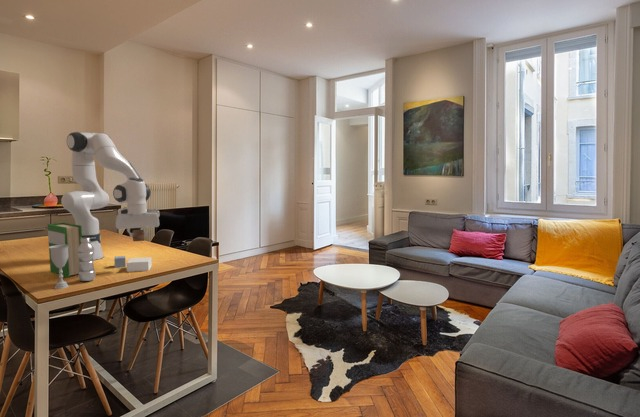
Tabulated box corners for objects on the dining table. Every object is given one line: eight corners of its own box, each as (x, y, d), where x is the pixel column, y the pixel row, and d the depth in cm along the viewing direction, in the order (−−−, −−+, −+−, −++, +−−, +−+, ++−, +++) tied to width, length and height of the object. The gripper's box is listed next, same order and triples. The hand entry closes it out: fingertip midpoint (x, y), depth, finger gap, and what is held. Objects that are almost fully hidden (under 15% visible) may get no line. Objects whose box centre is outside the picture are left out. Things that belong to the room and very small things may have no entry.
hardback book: (84, 274, 180) (81, 225, 177) (67, 277, 174) (64, 227, 171) (67, 268, 189) (64, 222, 187) (50, 272, 183) (47, 224, 181)
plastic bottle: (83, 278, 172) (81, 236, 170) (98, 278, 173) (96, 236, 171) (75, 283, 166) (73, 239, 164) (91, 282, 166) (89, 239, 164)
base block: (126, 272, 185) (126, 262, 184) (131, 267, 194) (130, 258, 194) (148, 271, 188) (148, 261, 187) (151, 266, 197) (151, 257, 197)
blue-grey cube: (114, 268, 192) (114, 258, 192) (115, 265, 197) (114, 256, 196) (125, 266, 195) (125, 257, 194) (125, 264, 199) (125, 255, 199)
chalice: (67, 283, 165) (65, 244, 163) (74, 286, 161) (72, 245, 159) (48, 287, 159) (45, 246, 157) (55, 290, 155) (52, 248, 153)
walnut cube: (133, 241, 186) (132, 231, 186) (133, 239, 190) (132, 230, 190) (144, 240, 188) (143, 231, 188) (143, 239, 193) (143, 229, 192)
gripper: (159, 208, 195) (159, 234, 197) (115, 209, 186) (116, 236, 187) (159, 209, 190) (160, 236, 191) (114, 211, 180) (115, 239, 182)
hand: (138, 236), depth 189 cm, fingers closed on walnut cube, 5 cm apart
